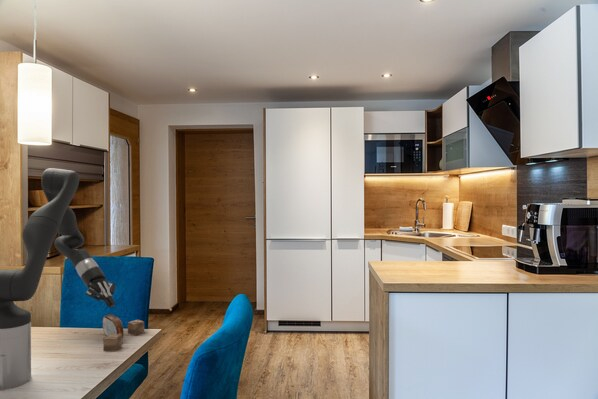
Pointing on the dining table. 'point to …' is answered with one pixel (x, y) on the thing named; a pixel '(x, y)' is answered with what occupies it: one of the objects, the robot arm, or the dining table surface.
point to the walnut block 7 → (136, 327)
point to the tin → (112, 325)
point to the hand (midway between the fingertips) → (112, 305)
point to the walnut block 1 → (112, 342)
